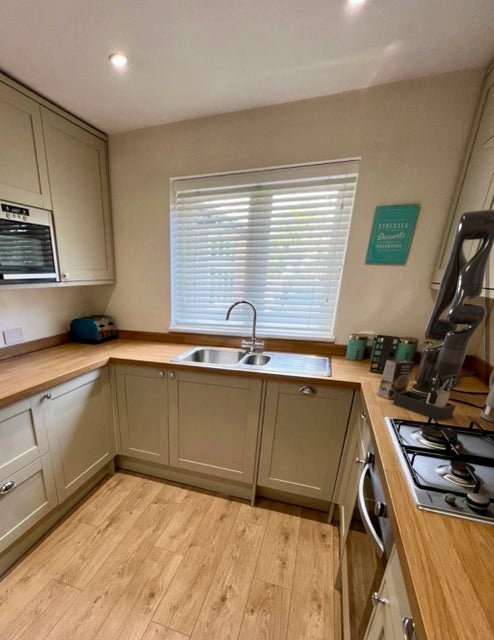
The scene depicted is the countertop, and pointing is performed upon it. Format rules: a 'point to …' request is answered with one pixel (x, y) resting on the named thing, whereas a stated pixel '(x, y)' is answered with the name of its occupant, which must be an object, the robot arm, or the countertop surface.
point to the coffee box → (395, 377)
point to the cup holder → (422, 405)
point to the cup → (440, 399)
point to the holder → (384, 352)
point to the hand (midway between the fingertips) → (436, 402)
